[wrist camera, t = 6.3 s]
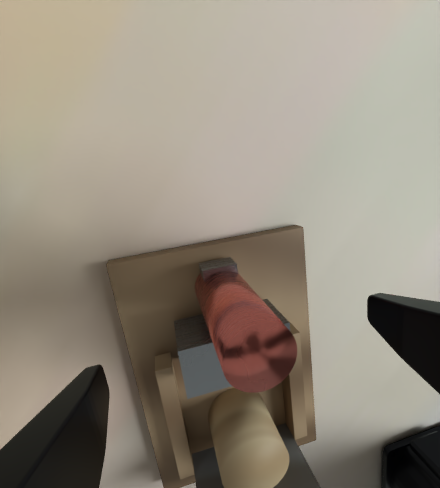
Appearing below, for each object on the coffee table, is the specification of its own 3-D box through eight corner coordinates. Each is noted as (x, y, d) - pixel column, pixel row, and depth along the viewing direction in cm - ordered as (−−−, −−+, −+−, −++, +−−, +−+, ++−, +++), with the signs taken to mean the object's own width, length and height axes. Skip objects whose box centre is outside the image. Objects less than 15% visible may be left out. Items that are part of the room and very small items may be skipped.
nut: (265, 425, 17) (291, 483, 14) (212, 442, 16) (226, 507, 13) (260, 379, 16) (286, 429, 13) (204, 396, 16) (216, 453, 12)
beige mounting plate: (309, 429, 19) (358, 508, 14) (164, 479, 17) (167, 586, 13) (295, 224, 15) (355, 244, 11) (108, 260, 14) (85, 301, 9)
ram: (271, 337, 15) (338, 429, 10) (181, 361, 14) (198, 477, 9) (262, 250, 14) (333, 297, 8) (163, 270, 13) (169, 338, 7)
